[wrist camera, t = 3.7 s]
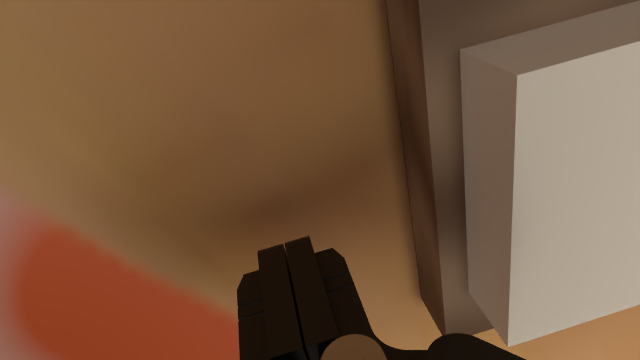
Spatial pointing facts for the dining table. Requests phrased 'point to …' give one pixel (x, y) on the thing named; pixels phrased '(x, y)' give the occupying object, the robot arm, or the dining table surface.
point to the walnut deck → (450, 129)
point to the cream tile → (553, 173)
